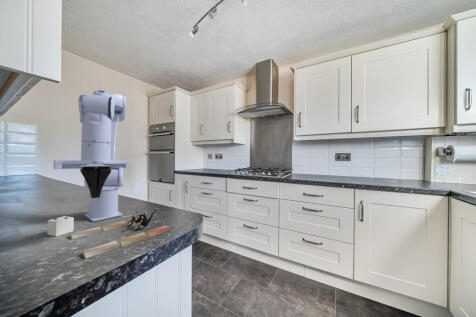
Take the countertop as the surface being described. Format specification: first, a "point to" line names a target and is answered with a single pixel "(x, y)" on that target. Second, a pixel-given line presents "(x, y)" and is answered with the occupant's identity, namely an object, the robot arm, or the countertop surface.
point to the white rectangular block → (60, 226)
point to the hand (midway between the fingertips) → (95, 197)
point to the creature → (143, 223)
